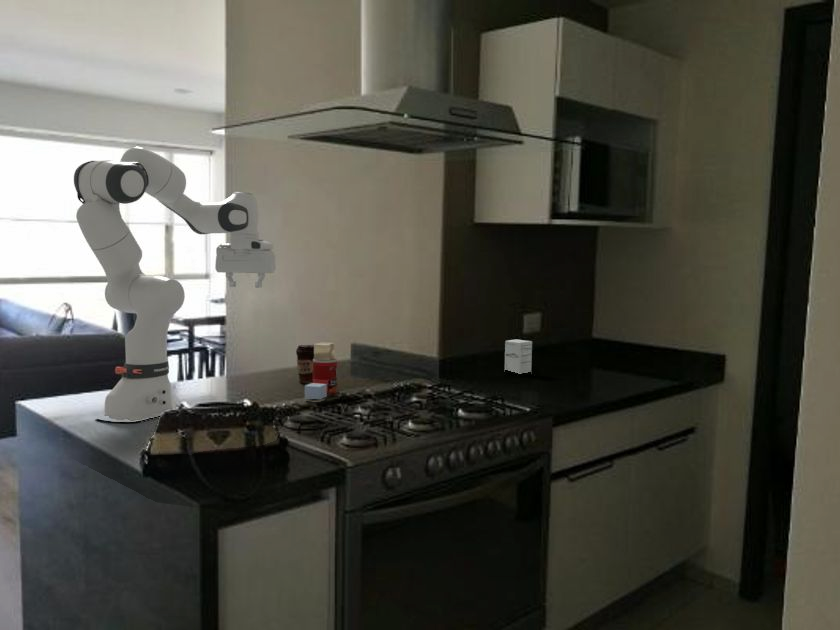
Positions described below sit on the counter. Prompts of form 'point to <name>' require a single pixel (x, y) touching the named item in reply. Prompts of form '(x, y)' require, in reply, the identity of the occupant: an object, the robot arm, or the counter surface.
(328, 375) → the canned food
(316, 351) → the maple block
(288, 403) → the counter surface
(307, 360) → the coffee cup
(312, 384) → the slate block
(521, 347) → the supplement box
